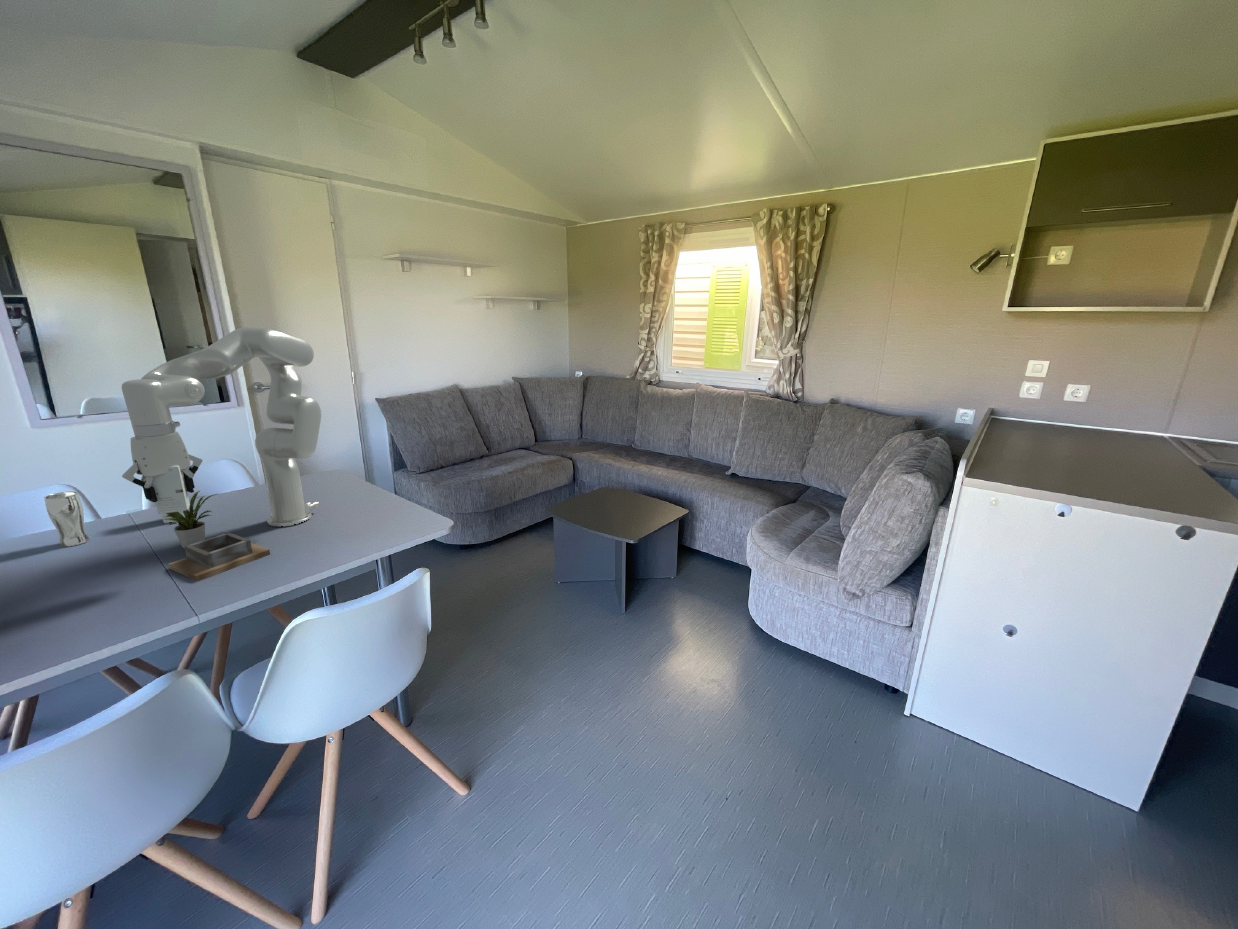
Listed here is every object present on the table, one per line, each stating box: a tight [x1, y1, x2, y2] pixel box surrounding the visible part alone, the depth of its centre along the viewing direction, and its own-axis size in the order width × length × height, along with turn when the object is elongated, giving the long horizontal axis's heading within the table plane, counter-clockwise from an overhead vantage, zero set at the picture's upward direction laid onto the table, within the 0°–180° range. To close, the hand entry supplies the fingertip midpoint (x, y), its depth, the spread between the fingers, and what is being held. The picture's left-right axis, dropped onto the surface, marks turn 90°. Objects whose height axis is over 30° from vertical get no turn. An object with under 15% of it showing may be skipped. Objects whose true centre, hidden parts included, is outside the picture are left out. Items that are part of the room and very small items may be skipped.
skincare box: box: [151, 465, 190, 515], centre depth 129 cm, size 6×4×12 cm
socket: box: [168, 532, 271, 582], centre depth 139 cm, size 18×14×6 cm
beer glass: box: [43, 491, 91, 548], centre depth 146 cm, size 7×7×15 cm
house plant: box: [163, 490, 218, 550], centre depth 148 cm, size 14×14×16 cm
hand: (171, 495), depth 130 cm, fingers closed on skincare box, 7 cm apart
